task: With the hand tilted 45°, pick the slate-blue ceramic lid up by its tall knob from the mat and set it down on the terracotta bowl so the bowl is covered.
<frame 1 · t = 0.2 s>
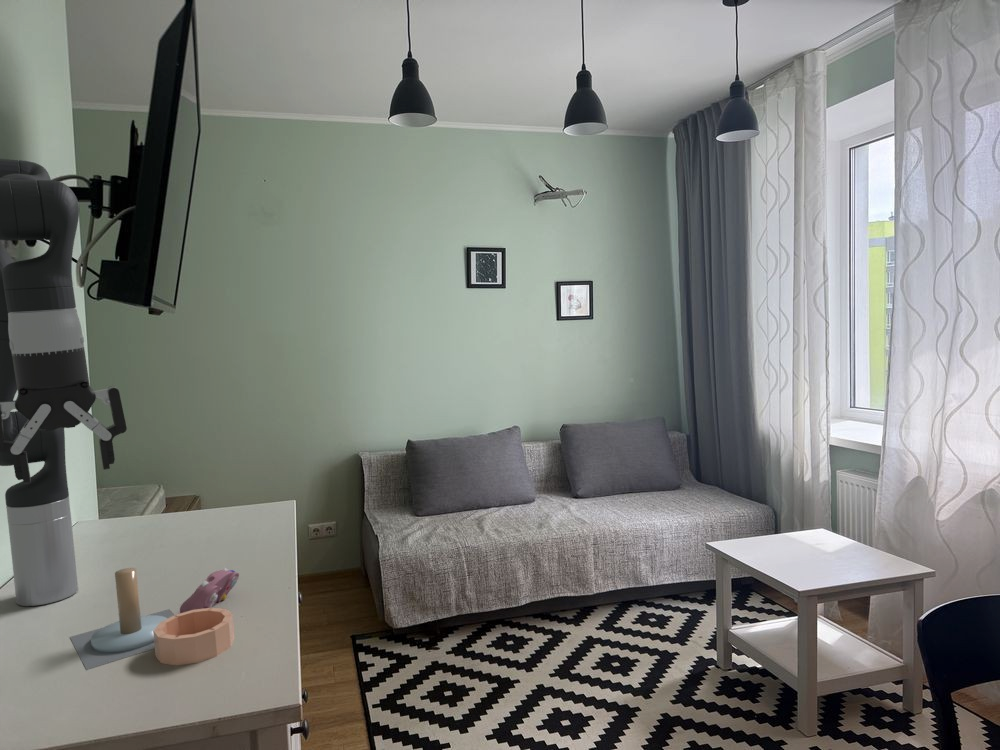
hand: (67, 475, 88), 28 cm above the dresser, tool pointing down, fingers open, 8 cm apart
lid: (131, 636, 104), resting on mat
mat: (131, 639, 104), on the dresser
bowl: (196, 649, 99), on the dresser
video game controller: (212, 607, 115), on the dresser
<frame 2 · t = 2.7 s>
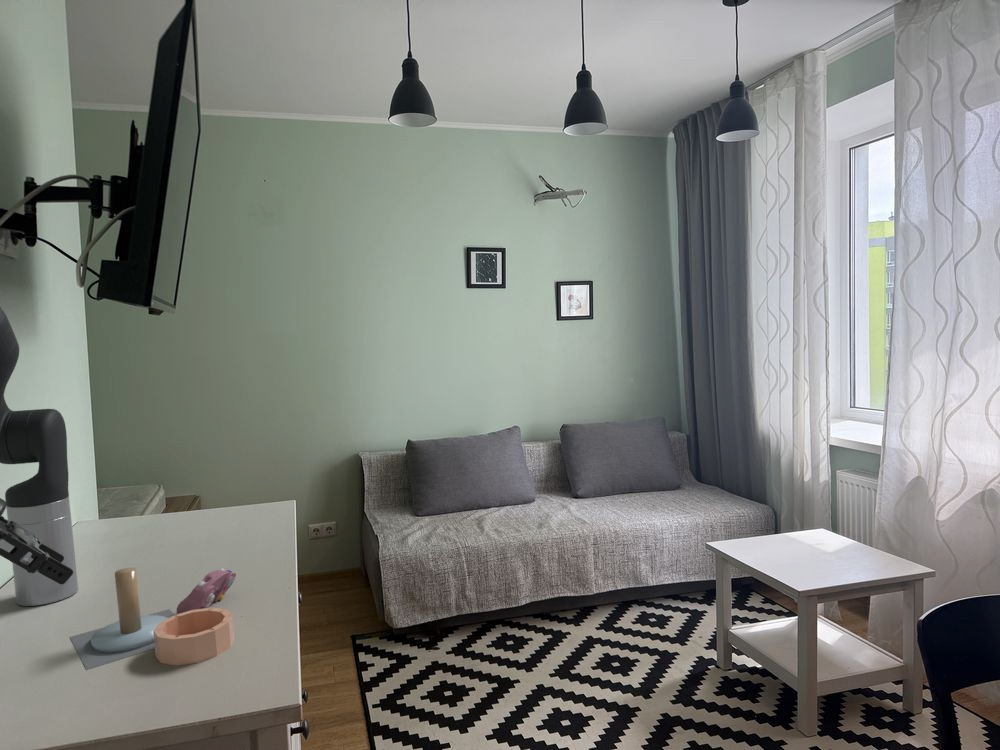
hand: (63, 570, 98), 13 cm above the dresser, tool tilted 45°, fingers open, 8 cm apart
nothing on the dresser moved.
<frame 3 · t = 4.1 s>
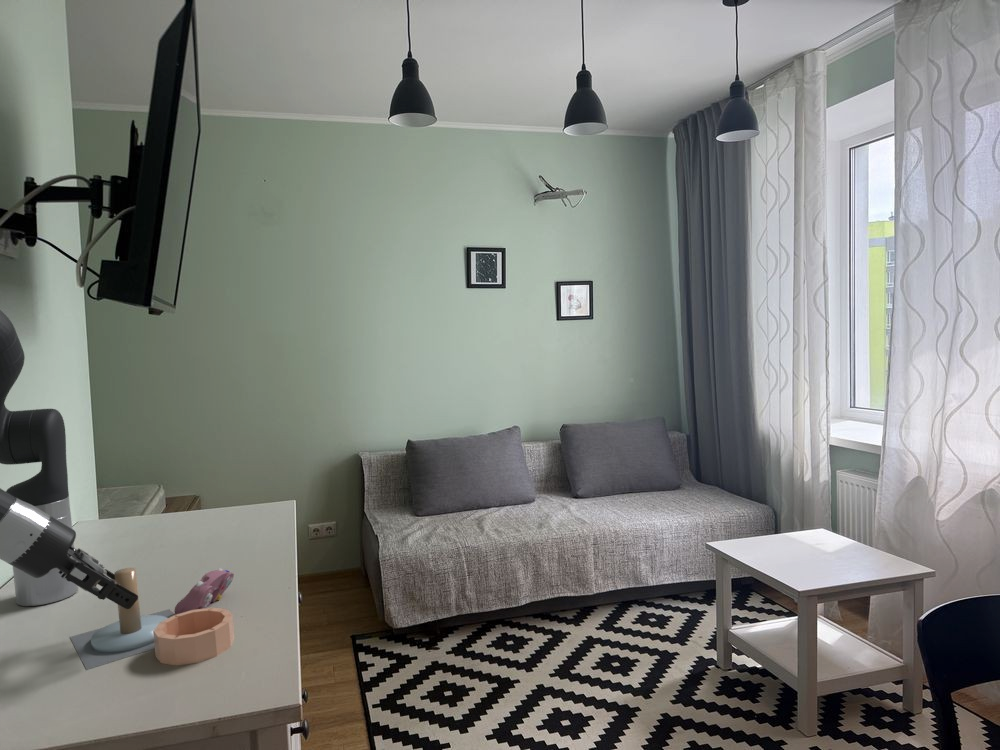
hand: (127, 595, 103), 7 cm above the dresser, tool tilted 45°, fingers open, 8 cm apart
nothing on the dresser moved.
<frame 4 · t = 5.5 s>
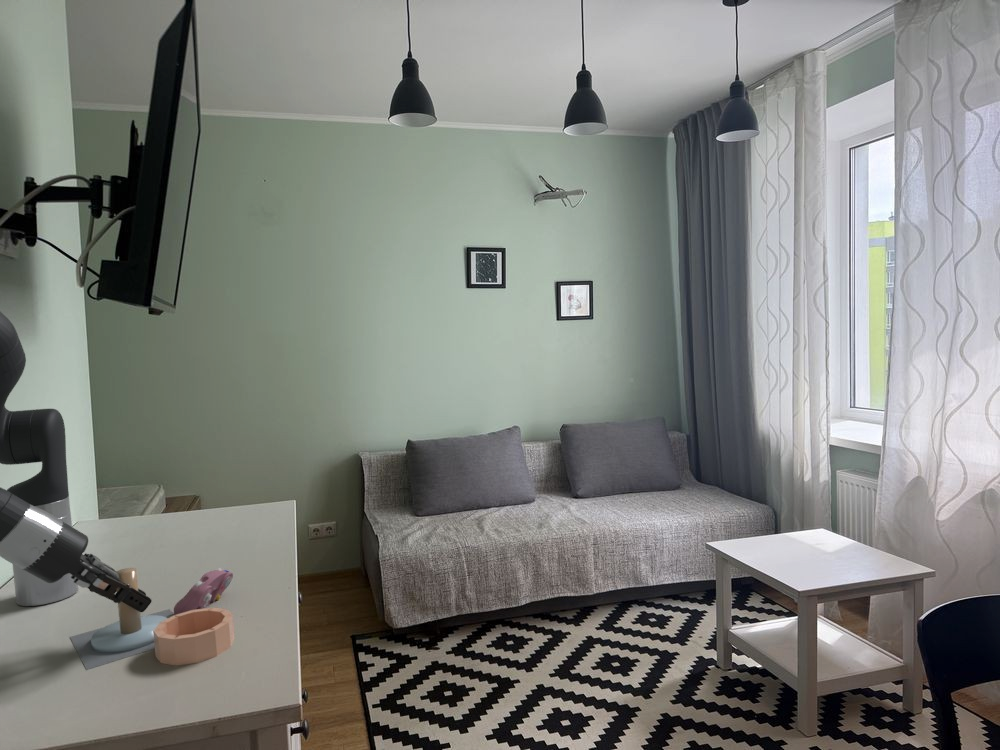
hand: (143, 602, 105), 5 cm above the dresser, tool tilted 45°, fingers closed on lid, 2 cm apart
lid: (131, 636, 104), resting on mat, touching gripper
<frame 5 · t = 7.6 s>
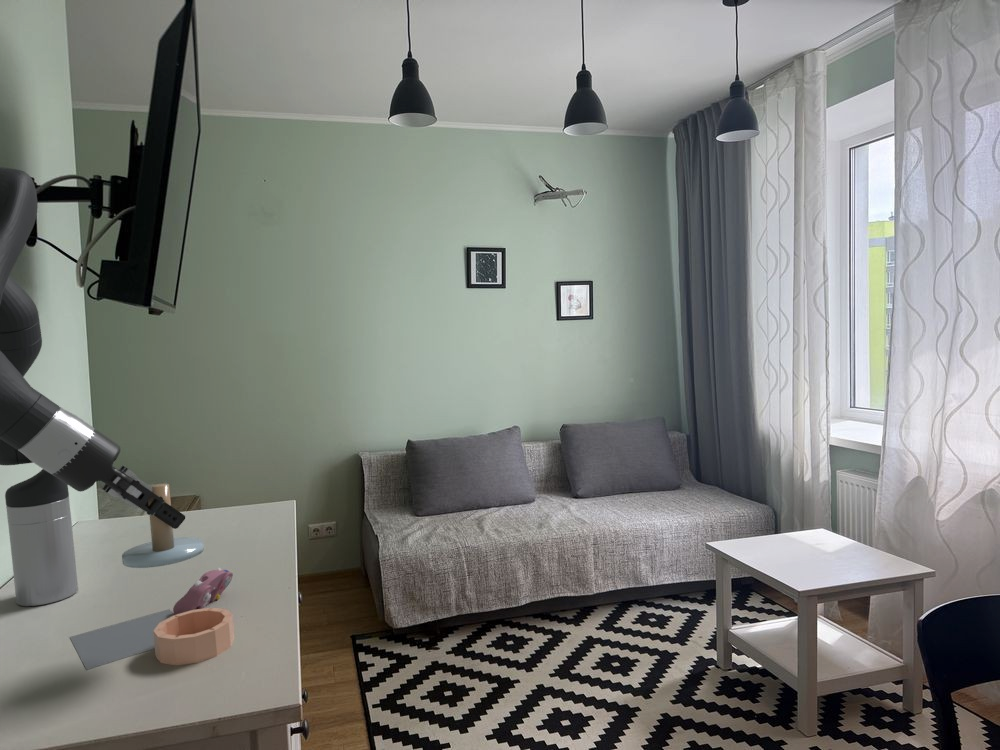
hand: (177, 520, 100), 18 cm above the dresser, tool tilted 45°, fingers closed on lid, 2 cm apart
lid: (164, 555, 99), point 14 cm above the dresser, touching gripper
when the fingers open (10 cm above the dresser, at t = 9.5 s): lid drops 2 cm, resting on bowl.
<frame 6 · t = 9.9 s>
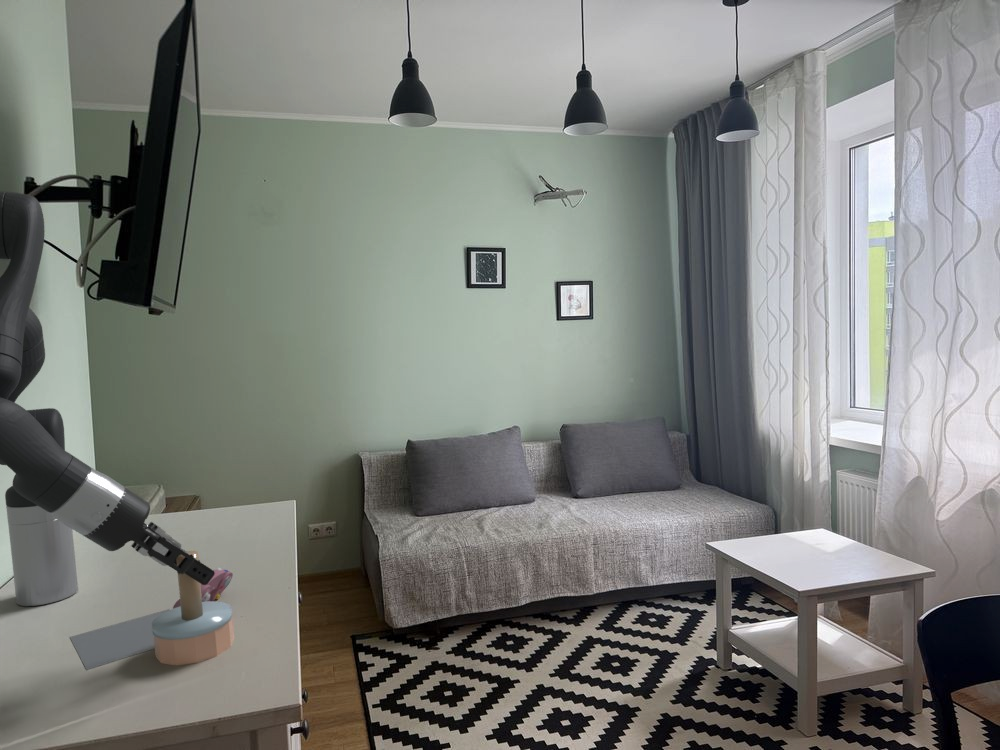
hand: (202, 572, 100), 11 cm above the dresser, tool tilted 45°, fingers open, 6 cm apart
lid: (193, 622, 99), point 4 cm above the dresser, touching bowl
video game controller: (205, 606, 116), on the dresser, touching mat
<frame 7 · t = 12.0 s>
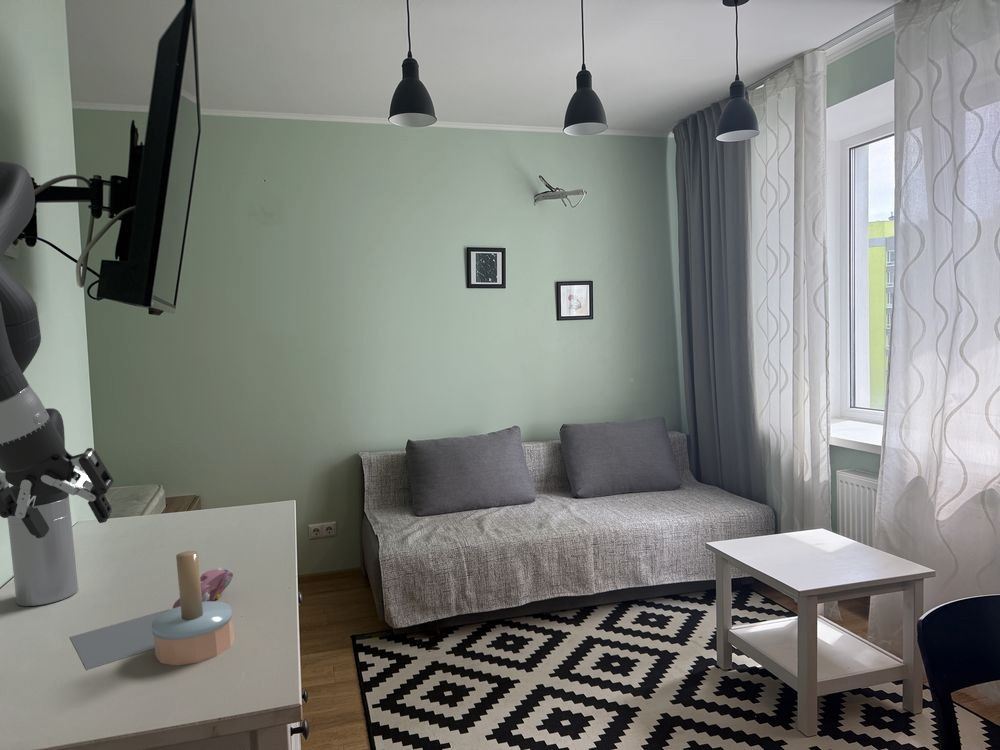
hand: (74, 526, 95), 19 cm above the dresser, tool tilted 25°, fingers open, 8 cm apart
video game controller: (205, 606, 116), on the dresser
everything else where it was.
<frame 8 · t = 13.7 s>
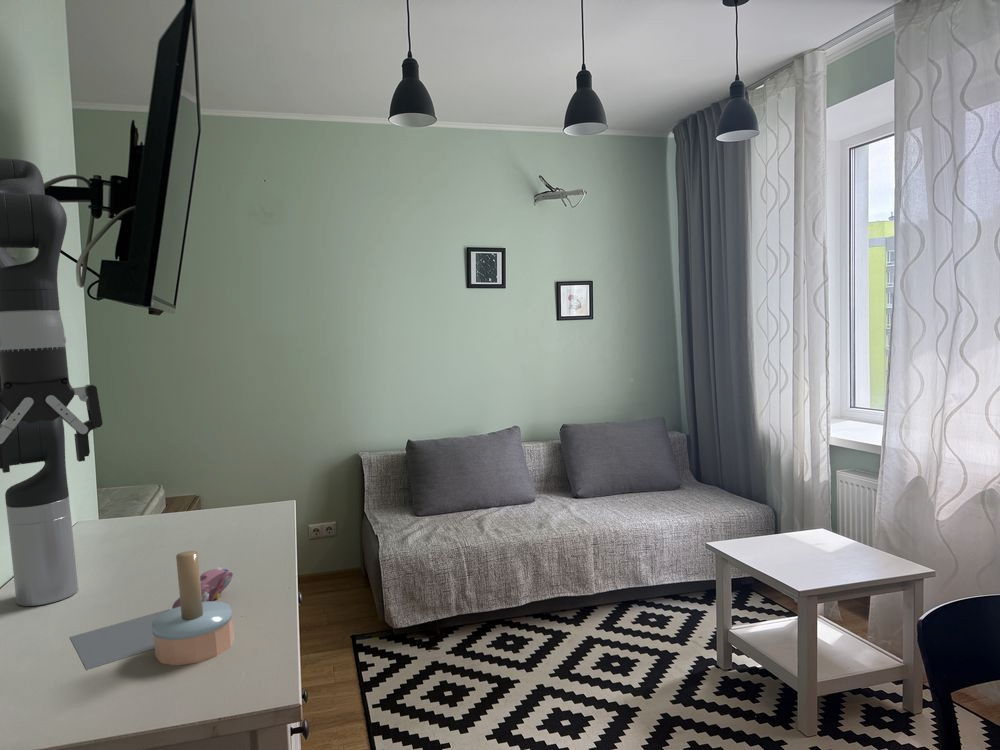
hand: (44, 466, 94), 28 cm above the dresser, tool pointing down, fingers open, 8 cm apart
nothing on the dresser moved.
at the end: lid 0.1 cm from the bowl (horizontally); lid 0.1 cm off-centre on the bowl, point 4.0 cm above the bowl's base; lid tilted 0° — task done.
